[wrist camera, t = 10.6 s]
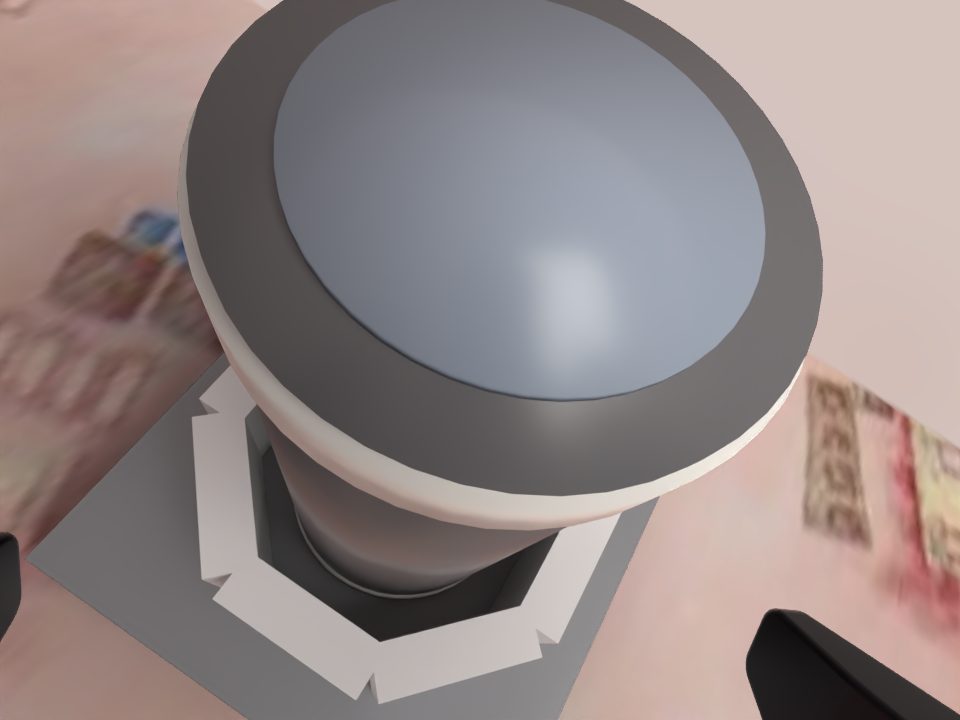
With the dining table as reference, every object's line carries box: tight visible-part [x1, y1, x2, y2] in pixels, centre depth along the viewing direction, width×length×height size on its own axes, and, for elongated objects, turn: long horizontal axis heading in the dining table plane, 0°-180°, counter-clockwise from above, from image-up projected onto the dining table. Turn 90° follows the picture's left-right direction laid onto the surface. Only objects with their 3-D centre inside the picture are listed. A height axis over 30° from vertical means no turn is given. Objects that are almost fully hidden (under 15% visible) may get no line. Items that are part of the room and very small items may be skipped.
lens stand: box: [25, 352, 659, 720], centre depth 15 cm, size 12×12×4 cm
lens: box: [177, 0, 823, 599], centre depth 10 cm, size 5×5×12 cm
